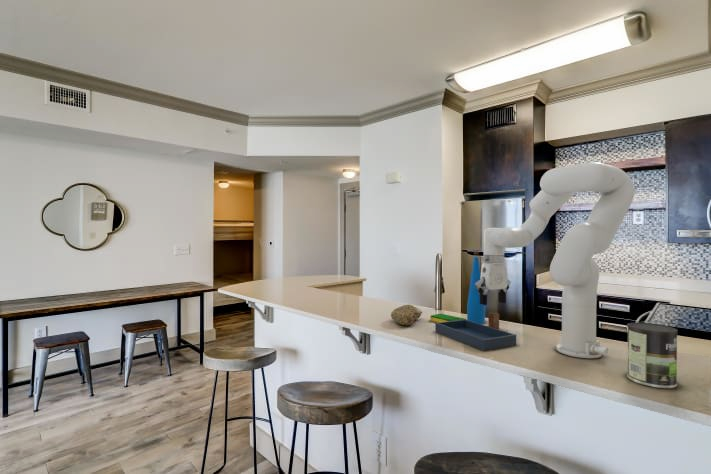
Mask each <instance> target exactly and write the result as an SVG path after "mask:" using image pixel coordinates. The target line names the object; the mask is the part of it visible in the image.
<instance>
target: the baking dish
mask: <svg viewBox="0 0 711 474" xmlns="http://www.w3.org/2000/svg"><path fill="white" fill-rule="evenodd" d="M465 319H466V318H464V319H463V320H455V321H448V322H440V323H437V322H435V333H436V334H438V335H441V336H444V337H447V338H449V339H452V340H455V341H457V342H460V343H462V344H465V345H467V346H469V347H472V348H476V349H478V350H481V351H484V352H487V351H492V350H497V349H503V348H508V347H514V346H517V334H514V333H511V332H509V331H508V332H505V331H502V330H498V329H495V328H492V327H489V326H488V325H485V324H479V323H475V322H472V321H469V320H467V319H466V320H465Z"/></svg>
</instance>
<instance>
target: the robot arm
mask: <svg viewBox="0 0 711 474" xmlns="http://www.w3.org/2000/svg"><path fill="white" fill-rule="evenodd" d="M539 186H540V191H538V193H537V194H536V195H535V196H534V197H533V198H532V199H531V200H530V201H529V208H530V210H531V211H530V215H529V216H528V218H527V219H526V220H525V221H524V222H523V223H522V224H521V225H520V226H515V227H514V226H511V227H510V226H509V227H487V228H485V229H484V231H483V256H482V261H483V263H482V265H481V268H480V274H481V277H480V280H479V281H477V282H476V283H475V286H476V288H477V291H478V293H479V294H480V304H482V305H485V306H487V305H488V295H487V293H488V292H489V290H490V291H496V290H498V297H497V298H498V299H497V300H498V303H502V304H506V303H507V293H508V290H509V288H510V285H511V280H510V279H508V269H507V265H506V262H505V248H508V249H511V248H513V249H514V248H525V247H527V246H529V245H530V244H531V243H533V242H534V241H536V239H538V237H540V235H541V234H542V233H543V232H544V231H545V229H546V227H547V225H548V224H549V221H550V219H551V217H552V216H553V215H555V214H556V212H557V211H558V210H559V209H561V208H562V207H563V205H565V204H566V203H567V202H568V201H569V200H570V199H571V198H572V197H573V196H574V195H575V194H577V193H586V192H587V193H588V192H594V193H600V197H599V199H598V201H597V202H596V203H595V204H594V205H593V207H592V209H591V211H590V214H589V216H588V217H587V219H586V221H585V222H579V223H577V224H574V225H572V226H571V227H570V228H569V229H568V230H567V231H566V232H565V234H564V235H563V236H562V239H561V241H560V242H559V243H560V244H559V246H558V247H557V249H556V252H555V254H554V255H553V257H552V260H551V262H550V265H549V275H550V277H551V279H552V281H553V282H555V283H556V284H557V285H559V286H562V292H561V293H562V294H561V343H558V344H557V345H555V346H556V347H555V349H556V351H557V352H558V353H561V354H563V355H566V356H569V357H573V358H579V359H599V358H601V357H603V356H607V355H608V352H609V348H608V347H605V346H601V342H600V340H597V301H598V295H597V294H598V287H599V286H598V285H599V279H600V267H599V264H598V263H597V261H596V260H595V259H594V258H593V256H594V255H597V254H601V253H604V252H605V251H607V250H608V249H609V248H610V246H611V244H612V242H613V240H614V238H615V236H616V235H617V232H618V230H619V229H620V227H621V225H622V223H623V221H624V219H625V217H626V216H627V213H628V211H629V209H630V207H632V206H631V205H632V203H633V201H634V198H635V192H636V191H635V185H634V182H633V180H632V178H631V177H630V175H628V174H627V172H625V171H624V170H623V169H622V168H620V167H617V166H615V165H611V164H607V163H603V162H597V161H592V162H585V163H584V162H583V163H578V164H571V165H565V166H559V167H554V168H550V169H548V170H547V171H546V172H544V173H543V175H542V176H541V178H540V181H539Z"/></svg>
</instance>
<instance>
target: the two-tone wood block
mask: <svg viewBox="0 0 711 474" xmlns="http://www.w3.org/2000/svg"><path fill="white" fill-rule="evenodd" d="M487 315H488V316H487V317H488V320H487V321H488V322H487V323H488V325H487V326H489V327H492V328H495V329H498V330H502V331H505V332H508V333H509V331H508V330H507V329H504V328H501V327H500V313H499V312H495V311H492V312H491V311H490V312H488V314H487Z"/></svg>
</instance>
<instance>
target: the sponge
mask: <svg viewBox="0 0 711 474" xmlns="http://www.w3.org/2000/svg"><path fill="white" fill-rule="evenodd" d="M422 314H423V311H422V310H421V309H420V308H419V307H417V306H414V305H412V304H403V305H401V306H399V307H396V308H394V309H393V311H391V313H390V317H391V319H392V320H393V321H394V322H395V323H397V324H398V325H400V326H401V325H402V326H409V325H411V324H413V323H414V322H415V321H416V319H419V318H420V317H421V316H422Z"/></svg>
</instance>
